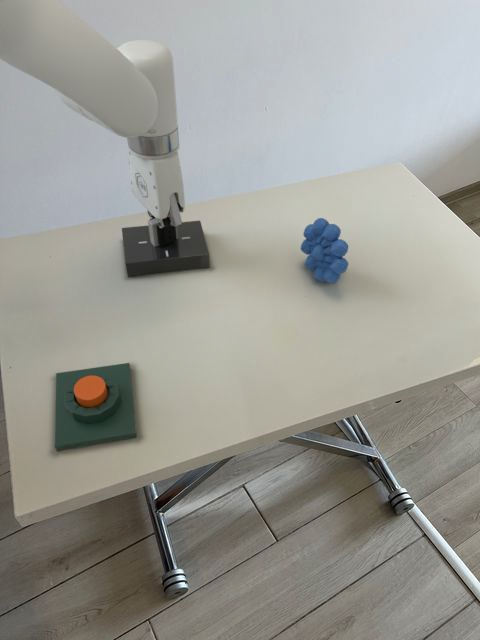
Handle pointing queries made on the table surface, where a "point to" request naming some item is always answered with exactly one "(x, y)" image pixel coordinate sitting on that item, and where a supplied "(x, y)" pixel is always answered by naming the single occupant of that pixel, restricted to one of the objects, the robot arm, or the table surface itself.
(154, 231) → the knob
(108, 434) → the control block
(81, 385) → the button
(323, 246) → the grapes
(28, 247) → the table surface
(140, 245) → the lever switch base
